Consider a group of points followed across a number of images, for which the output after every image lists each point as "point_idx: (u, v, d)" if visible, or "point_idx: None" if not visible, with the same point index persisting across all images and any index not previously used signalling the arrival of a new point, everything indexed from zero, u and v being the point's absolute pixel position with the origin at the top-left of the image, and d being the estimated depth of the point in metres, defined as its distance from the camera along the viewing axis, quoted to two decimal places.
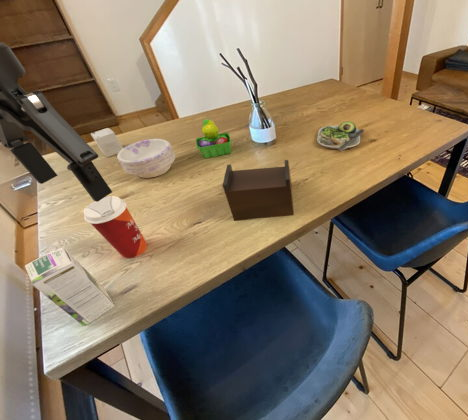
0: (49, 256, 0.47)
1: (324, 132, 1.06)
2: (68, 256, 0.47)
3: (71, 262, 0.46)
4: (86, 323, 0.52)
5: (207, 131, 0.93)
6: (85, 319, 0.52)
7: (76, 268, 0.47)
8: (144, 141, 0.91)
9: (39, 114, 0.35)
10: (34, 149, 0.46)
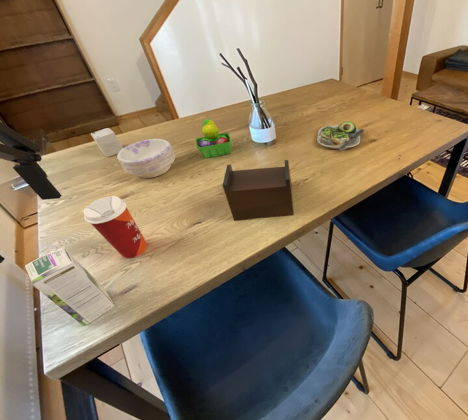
0: (49, 256, 0.47)
1: (324, 132, 1.06)
2: (68, 256, 0.47)
3: (71, 262, 0.46)
4: (86, 323, 0.52)
5: (207, 131, 0.93)
6: (85, 319, 0.52)
7: (76, 268, 0.47)
8: (144, 141, 0.91)
9: None
10: (34, 172, 0.43)
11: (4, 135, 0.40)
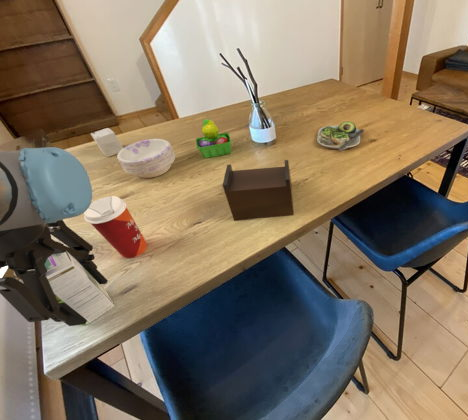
0: None
1: (324, 132, 1.06)
2: (68, 256, 0.47)
3: (71, 262, 0.46)
4: (86, 323, 0.52)
5: (207, 131, 0.93)
6: None
7: (76, 268, 0.47)
8: (144, 141, 0.91)
9: (3, 292, 0.39)
10: (89, 268, 0.53)
11: (71, 239, 0.50)
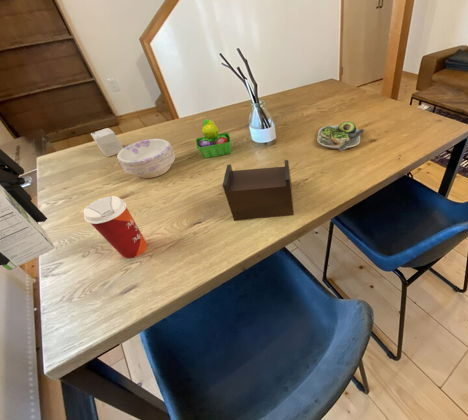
0: None
1: (324, 132, 1.06)
2: None
3: None
4: (11, 266, 0.40)
5: (207, 131, 0.93)
6: None
7: None
8: (144, 141, 0.91)
9: None
10: (17, 195, 0.41)
11: None
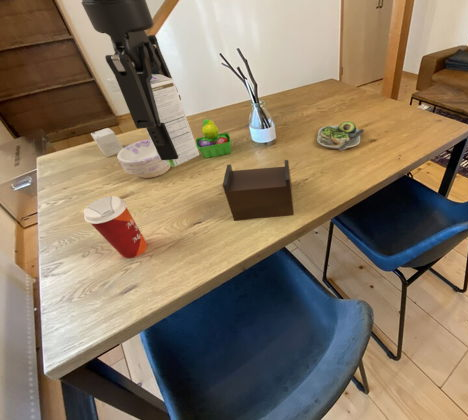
0: None
1: (324, 132, 1.06)
2: (165, 76, 0.46)
3: (171, 78, 0.44)
4: (175, 164, 0.51)
5: (207, 131, 0.93)
6: None
7: (175, 87, 0.45)
8: (144, 141, 0.91)
9: (119, 76, 0.38)
10: None
11: (162, 69, 0.48)
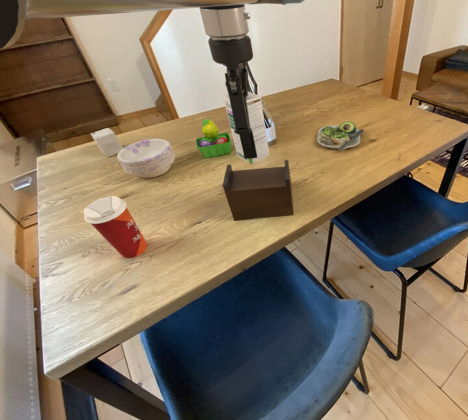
0: None
1: (324, 132, 1.06)
2: None
3: None
4: (253, 162, 0.63)
5: (207, 131, 0.93)
6: None
7: (260, 102, 0.58)
8: (144, 141, 0.91)
9: (232, 95, 0.50)
10: None
11: None
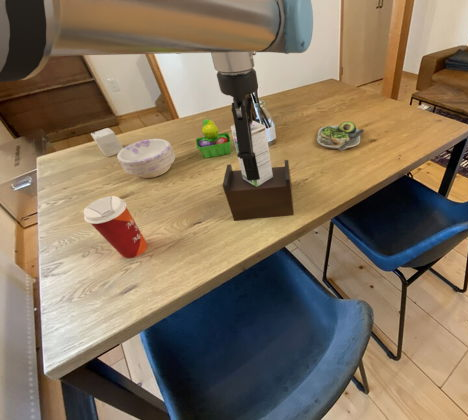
0: None
1: (324, 132, 1.06)
2: None
3: (263, 125, 0.62)
4: (258, 184, 0.68)
5: (207, 131, 0.93)
6: (258, 180, 0.67)
7: (265, 131, 0.62)
8: (144, 141, 0.91)
9: (237, 120, 0.53)
10: None
11: None
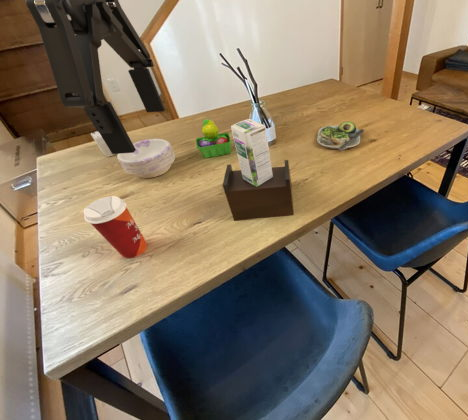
0: (245, 121, 0.62)
1: (324, 132, 1.06)
2: None
3: (263, 125, 0.62)
4: (258, 184, 0.68)
5: (207, 131, 0.93)
6: (258, 180, 0.67)
7: (265, 131, 0.62)
8: (144, 141, 0.91)
9: (44, 28, 0.27)
10: (148, 77, 0.43)
11: (128, 32, 0.39)
